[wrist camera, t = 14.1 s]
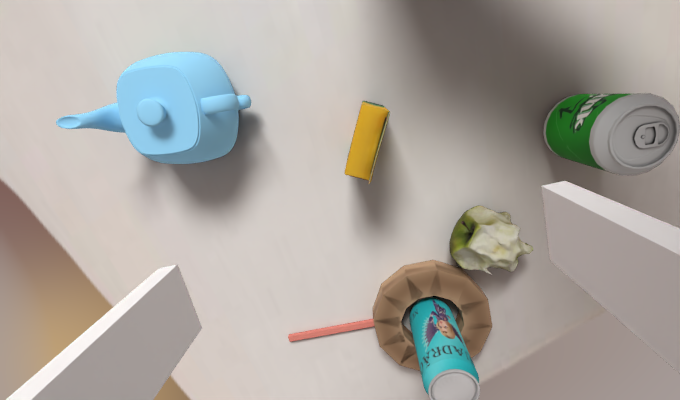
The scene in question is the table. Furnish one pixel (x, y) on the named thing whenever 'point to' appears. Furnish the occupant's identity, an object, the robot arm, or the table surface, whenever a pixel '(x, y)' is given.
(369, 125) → the crayon box
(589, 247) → the robot arm
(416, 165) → the table surface
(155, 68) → the teapot
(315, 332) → the stick
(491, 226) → the fruit
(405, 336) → the tan flat ring
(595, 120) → the soda can
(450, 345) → the beverage can
